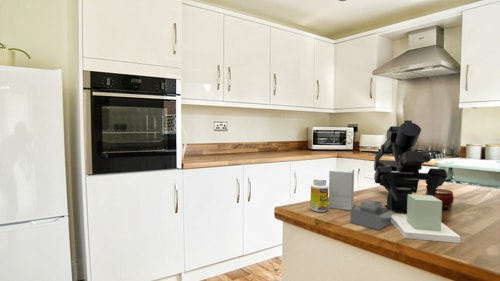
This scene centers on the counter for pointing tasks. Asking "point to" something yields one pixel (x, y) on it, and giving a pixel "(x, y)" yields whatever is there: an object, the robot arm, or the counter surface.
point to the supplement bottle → (319, 195)
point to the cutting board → (423, 231)
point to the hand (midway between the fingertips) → (414, 201)
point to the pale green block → (424, 212)
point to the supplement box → (341, 188)
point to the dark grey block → (371, 215)
